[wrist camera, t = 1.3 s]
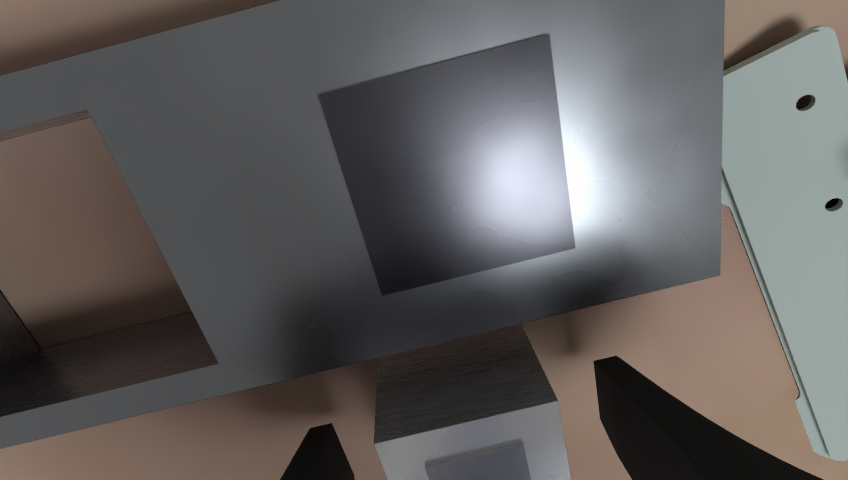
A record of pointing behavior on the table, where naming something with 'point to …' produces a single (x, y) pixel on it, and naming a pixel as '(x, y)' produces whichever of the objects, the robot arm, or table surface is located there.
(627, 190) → the rail
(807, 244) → the metal bracket
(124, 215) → the table surface
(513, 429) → the cube with square inset
